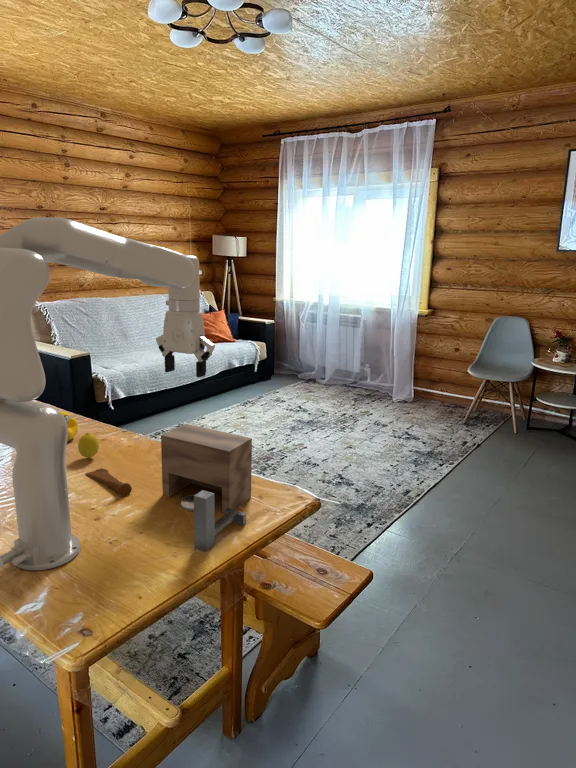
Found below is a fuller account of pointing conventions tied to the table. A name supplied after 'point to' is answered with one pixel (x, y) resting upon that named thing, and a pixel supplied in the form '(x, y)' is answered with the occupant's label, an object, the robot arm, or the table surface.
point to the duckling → (70, 425)
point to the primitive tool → (110, 481)
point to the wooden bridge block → (207, 463)
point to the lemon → (88, 445)
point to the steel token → (188, 503)
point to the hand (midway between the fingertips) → (185, 373)
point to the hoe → (211, 520)
